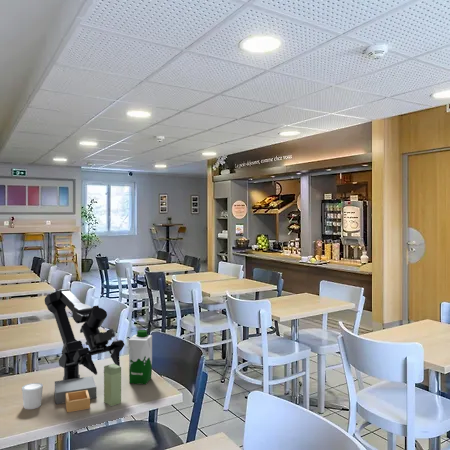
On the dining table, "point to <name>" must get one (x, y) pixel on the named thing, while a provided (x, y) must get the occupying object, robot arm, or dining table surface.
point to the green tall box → (112, 384)
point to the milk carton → (140, 357)
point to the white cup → (32, 395)
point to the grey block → (75, 393)
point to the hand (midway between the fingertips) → (108, 370)
